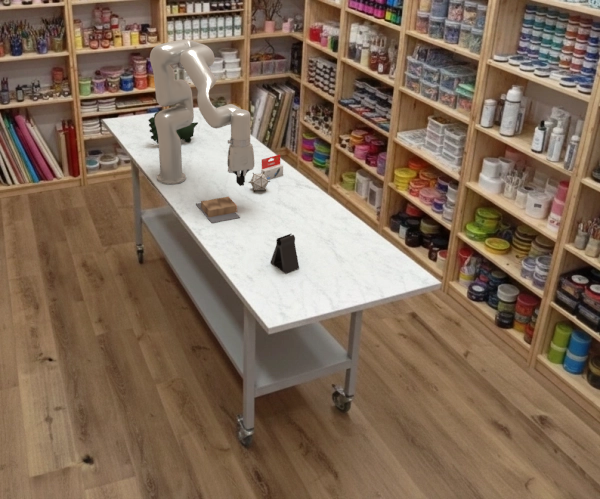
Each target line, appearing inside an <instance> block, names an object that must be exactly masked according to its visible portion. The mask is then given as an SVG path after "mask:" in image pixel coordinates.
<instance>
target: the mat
mask: <svg viewBox="0 0 600 499" xmlns="http://www.w3.org/2000/svg"><path fill="white" fill-rule="evenodd" d="M195 206H196V207H197V208H198V209H199V210H200V212H202V213H203V215H204V216H205V217H206V218H207V219H208V220H209V222H210V223H211V224H215V223H221V222H225V221H226V222H227V221H232V220H237V219H240V218H241V216H240V215H239V214H238V212H235V213H230V214H224V215H219V216H214V217H209V216H208V215H207V214H206V213H205V212H204V211H203V209H202V208H201V202H197V203H195Z"/></svg>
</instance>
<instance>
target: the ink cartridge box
mask: <svg viewBox="0 0 600 499" xmlns="http://www.w3.org/2000/svg"><path fill="white" fill-rule="evenodd" d="M271 159H273V160H271ZM263 172H265V173H264V175H265V176H266V178H267V180H268V181H271V180H274V179H276V178H281V177H283V176H284V165H282V164H281V154H276V155H274V156H273V155H272V156H270V157H266V158H262V159H261V173H263Z"/></svg>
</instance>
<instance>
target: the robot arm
mask: <svg viewBox="0 0 600 499" xmlns="http://www.w3.org/2000/svg"><path fill="white" fill-rule="evenodd" d="M215 59H216V58H215V54H214V52H213V50H212V49H211V48H210V47H209V46H208V45H206V44H203V43H200V42H197V41H194V40H192V39H188V38H187V39H179V40H174V41H169V42H164V43H161V44H158V45H156V46H154V47H153V48H152V49H151V51H150V54H149V61H150V65H151V68H152V72H153V79H154V80H153V82H154V90H155V99H156V101H157V103H158V105H159V106H160V107H165V108H164V109H162V110H160V112H159V111H158V112H159V113H157V112H156V113H157V115H156V116H155V125H156V129H157V134H158V143H159V144H158V155H159V156H158V157H159V159H158V160H159V173H158V174H157V176H156V180H157V182H159V183H161V184H164V185H177V184H181V183H183V182H185V180H186V178H187V176H186V174H185V173H184V172H183V163H182V162H183V161H182V159H183V157H182V141H181V140H182V139H181V140H180V137H179V136H178V134H177V132H176V131H177V130H178V129H181V128H184V127H187V126H189V125H191V124H192V123H194V117H195V116H194V114H195V113H194V101H193V100H194V99H193V91H192V88H191V85H190V84H189V82H187V81H186V80H184V79H183V78H182V79H176V74H175V70H174V68H173V67H172V66H171V65H174V64H179V63H180V64H181V66H182V68H183V69H184V71H185V72H186V73H187V75H188V77H189V79H190V80H191V82H192V83H193V86H194V87H196V88H195V89H196V90H197V97H196V99H197V107H198V110H199V112H200V114H201V116H202V118H203V119H204V120H205V121H206V123H207V125H208V126H209V127H210V128H213V129H221V128H223V127H226V126H229V125H230V138H229V139H228V140H227V144H229V146H228V152H227V161H226V164H227V173H229V174H235V176H236V180H235V181H236V183H237V185H239V186H240V187H241V186H244V185H245V182H246V176H247V173H249V171H252V170H254V168H255V152H254V147H253V143H251V113H250V111H249V110H247V109H245V108H244V109H242V108H240V107H238V106H236V104H232V103H228V104H225V105H222V106H218V107H215V106H214V105H213V104H212V101H211V99H210V90H211V89H213V87H214V86H215V85H216V83H217V78H216V76H215V75H214V73H213V71H212V70H211V68H210V67H211V66H212V65H213V64H214V63H215ZM174 105H175V106H174ZM166 107H169V108H166Z"/></svg>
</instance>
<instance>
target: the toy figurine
mask: <svg viewBox="0 0 600 499" xmlns="http://www.w3.org/2000/svg"><path fill="white" fill-rule="evenodd" d="M160 111H161V110H160ZM160 111H157V112H155V113H154V114H153V117H150V118H149V119H147V121H148V127H149V128H150V129H149V132H150V133H151V134H152V135H150V139H151V140H153V142H156V143H157V144H158V145H159V143H158V134H157V129H156V125H155V116H156V115H157V113H159V112H160ZM197 125H199V122H192V124H191V125H189V126H187V127H184V128H181V129H178V130H177V131H176V132H177V134H178V136H179V137H180V140H182V141H184V142H185V143H190V142H191V141H192V137H194V132H195V127H197Z"/></svg>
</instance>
